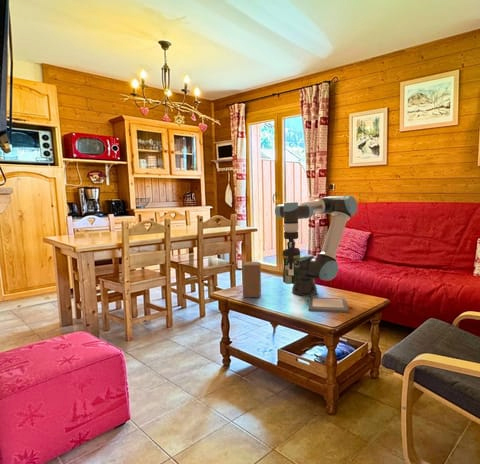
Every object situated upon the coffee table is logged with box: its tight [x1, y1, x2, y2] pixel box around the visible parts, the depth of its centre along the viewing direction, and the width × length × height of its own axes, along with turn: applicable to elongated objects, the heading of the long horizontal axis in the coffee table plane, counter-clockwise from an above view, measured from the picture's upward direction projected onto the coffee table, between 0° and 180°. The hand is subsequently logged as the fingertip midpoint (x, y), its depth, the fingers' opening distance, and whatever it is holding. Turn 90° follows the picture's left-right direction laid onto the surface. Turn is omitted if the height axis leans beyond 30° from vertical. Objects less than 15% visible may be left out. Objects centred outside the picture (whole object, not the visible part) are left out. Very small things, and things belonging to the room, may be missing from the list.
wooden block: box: [241, 261, 262, 298], centre depth 211 cm, size 10×10×20 cm
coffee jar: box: [282, 247, 301, 285], centre depth 186 cm, size 10×8×19 cm
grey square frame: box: [308, 296, 350, 313], centre depth 190 cm, size 20×20×2 cm
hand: (291, 272), depth 186 cm, fingers closed on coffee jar, 9 cm apart
